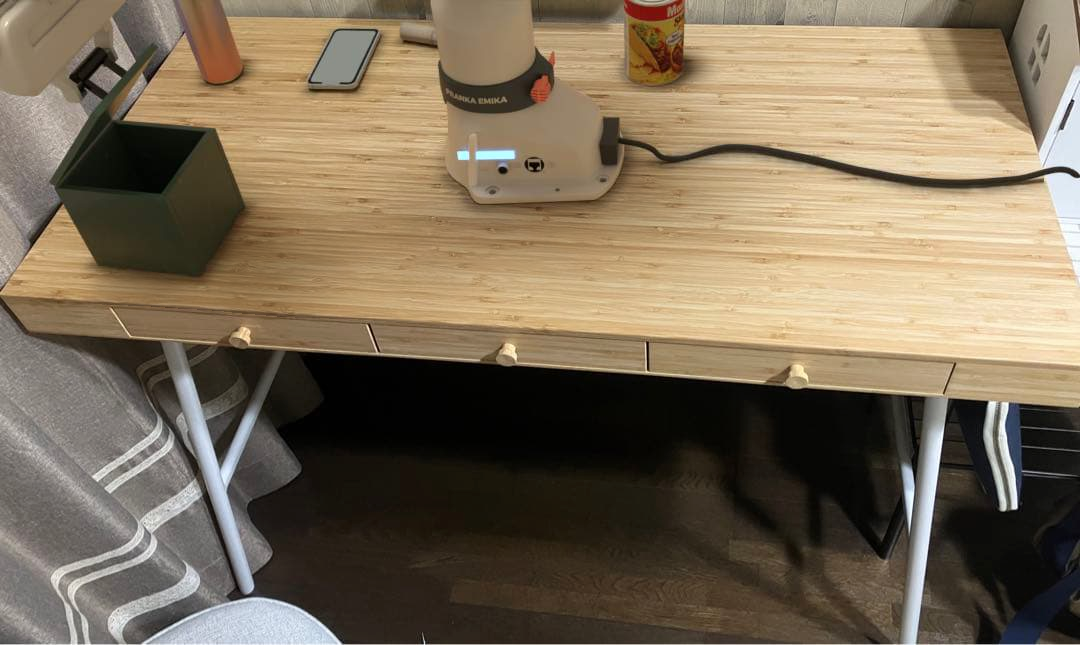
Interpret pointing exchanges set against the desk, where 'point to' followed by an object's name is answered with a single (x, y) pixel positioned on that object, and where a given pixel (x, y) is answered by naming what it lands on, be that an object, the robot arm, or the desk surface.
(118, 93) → the lid
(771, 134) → the desk surface
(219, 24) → the beverage can
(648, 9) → the canned food
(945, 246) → the desk surface
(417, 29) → the rod
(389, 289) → the desk surface
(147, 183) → the dark green box
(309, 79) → the smartphone
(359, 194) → the desk surface
